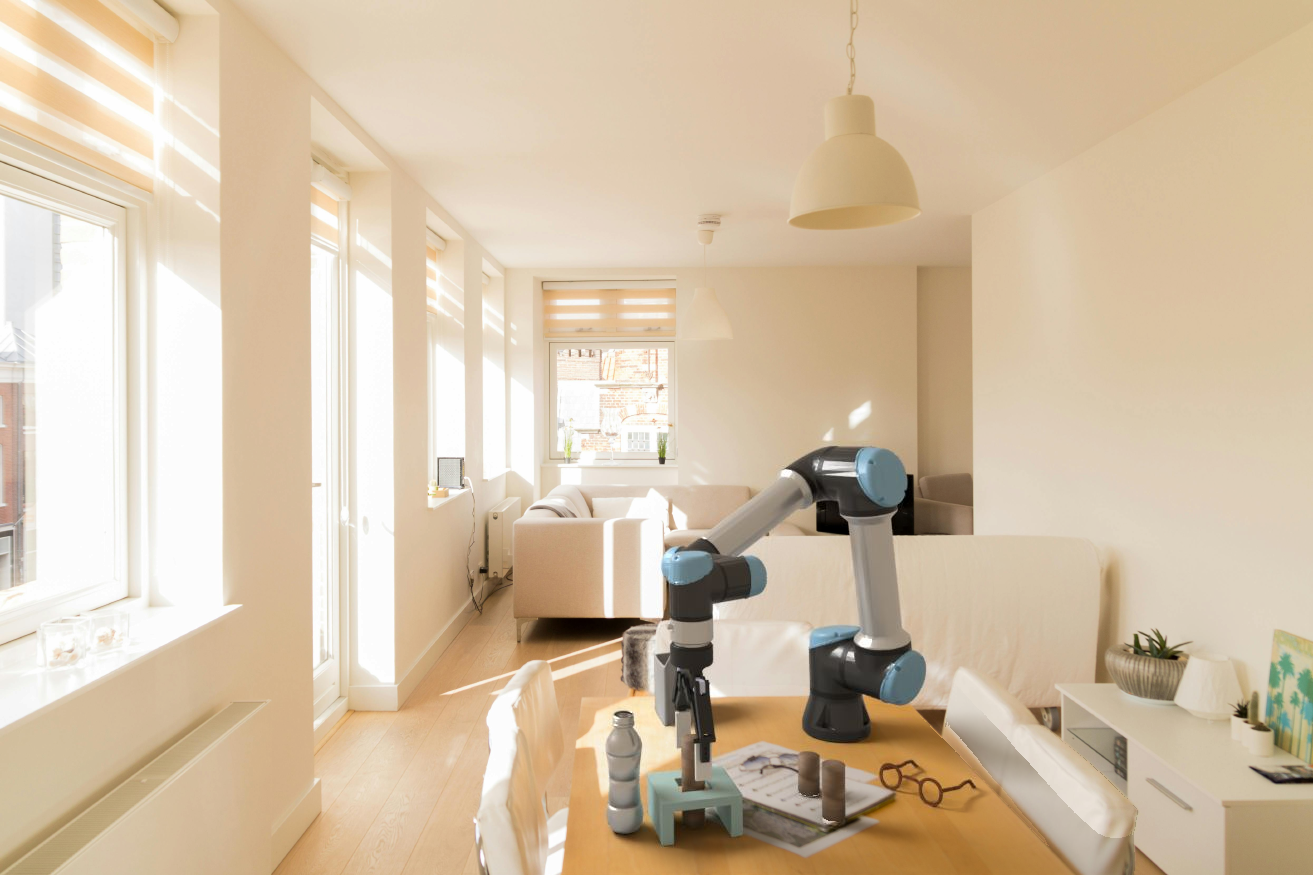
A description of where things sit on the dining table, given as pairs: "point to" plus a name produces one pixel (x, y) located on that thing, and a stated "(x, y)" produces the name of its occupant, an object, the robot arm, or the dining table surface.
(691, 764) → the pin long
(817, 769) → the pin short
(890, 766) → the glasses
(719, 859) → the dining table surface
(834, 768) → the pin medium
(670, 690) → the planter
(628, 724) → the plastic bottle
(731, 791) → the bridge
